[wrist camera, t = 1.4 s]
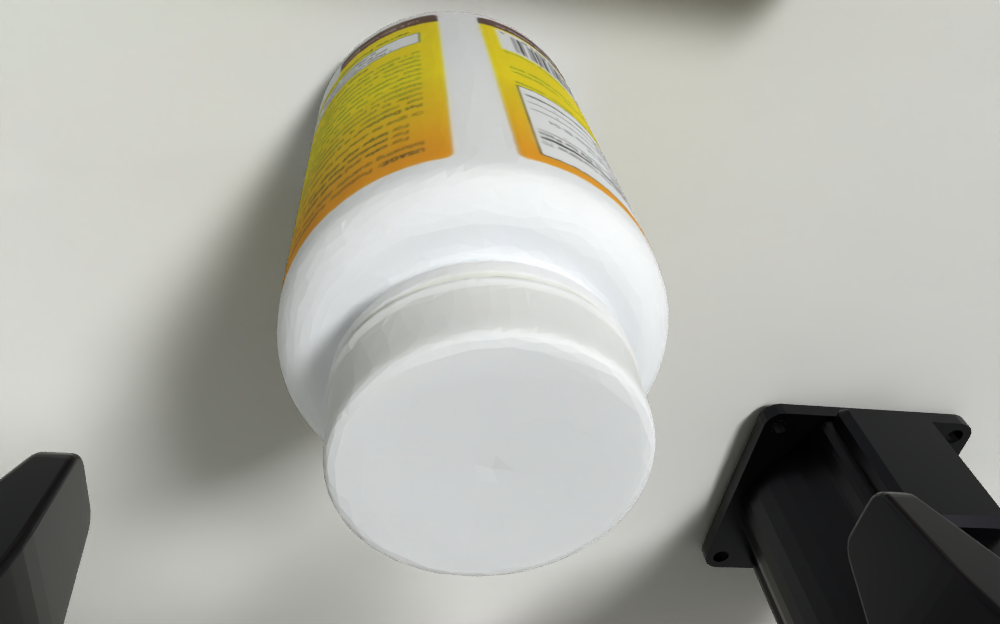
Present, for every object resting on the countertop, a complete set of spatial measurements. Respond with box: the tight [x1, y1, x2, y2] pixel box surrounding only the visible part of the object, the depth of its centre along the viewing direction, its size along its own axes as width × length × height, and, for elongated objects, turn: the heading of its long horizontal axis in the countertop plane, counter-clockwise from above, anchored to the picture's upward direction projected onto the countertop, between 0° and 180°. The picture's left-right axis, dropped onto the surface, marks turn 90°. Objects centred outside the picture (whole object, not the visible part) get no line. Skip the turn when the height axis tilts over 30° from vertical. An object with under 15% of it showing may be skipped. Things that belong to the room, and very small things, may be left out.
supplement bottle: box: [277, 11, 669, 576], centre depth 14 cm, size 6×6×10 cm
